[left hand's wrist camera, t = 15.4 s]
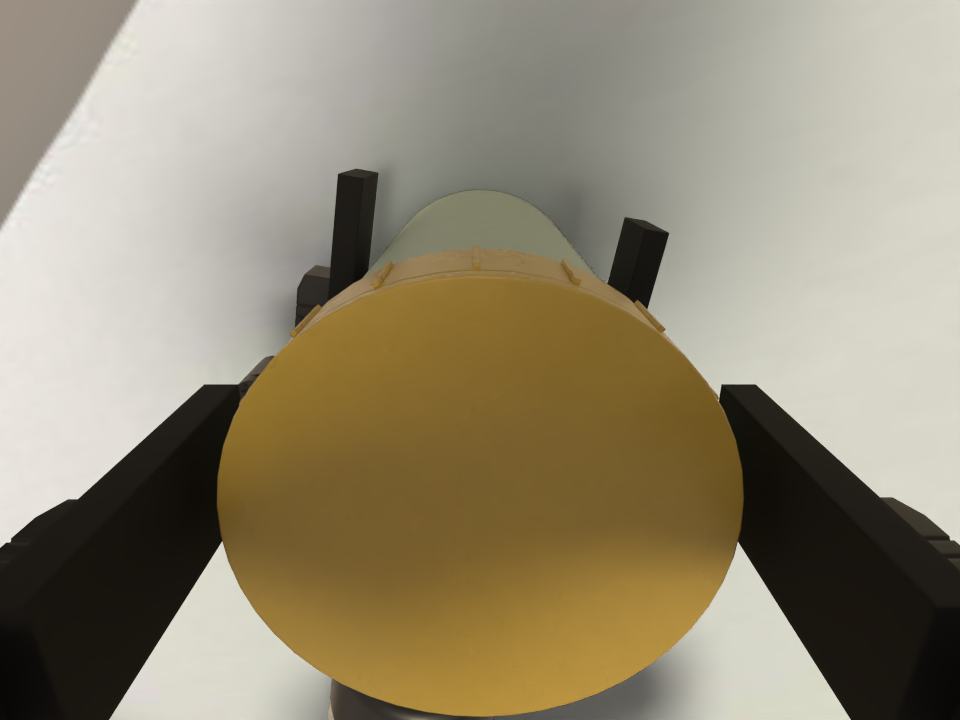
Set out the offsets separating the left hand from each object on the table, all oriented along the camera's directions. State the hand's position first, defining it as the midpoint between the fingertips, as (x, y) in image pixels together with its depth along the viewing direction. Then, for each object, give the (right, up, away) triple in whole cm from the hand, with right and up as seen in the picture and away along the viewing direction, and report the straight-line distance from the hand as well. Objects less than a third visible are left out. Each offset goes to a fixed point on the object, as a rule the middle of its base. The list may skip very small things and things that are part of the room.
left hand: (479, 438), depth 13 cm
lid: (0, -1, -3) cm, 3 cm away
